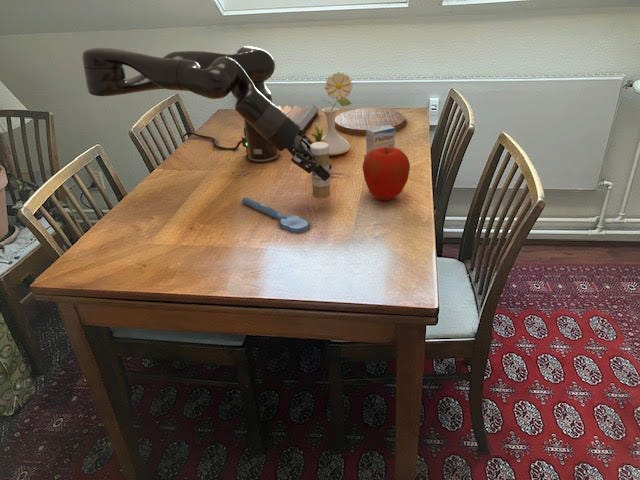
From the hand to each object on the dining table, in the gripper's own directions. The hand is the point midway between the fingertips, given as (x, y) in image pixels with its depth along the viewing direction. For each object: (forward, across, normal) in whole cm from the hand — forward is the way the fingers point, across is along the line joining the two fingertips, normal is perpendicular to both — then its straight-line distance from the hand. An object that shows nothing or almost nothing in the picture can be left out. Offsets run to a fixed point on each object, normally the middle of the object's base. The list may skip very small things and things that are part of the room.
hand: (328, 173), depth 129 cm
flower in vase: (+6, -39, -8) cm, 40 cm away
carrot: (+4, -19, -10) cm, 22 cm away
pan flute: (-10, -69, -24) cm, 74 cm away
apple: (+17, -6, +3) cm, 18 cm away
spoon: (-3, +4, -17) cm, 18 cm away
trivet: (+13, -67, 0) cm, 68 cm away
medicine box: (+16, -36, +2) cm, 40 cm away
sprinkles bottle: (+3, 0, -6) cm, 6 cm away
